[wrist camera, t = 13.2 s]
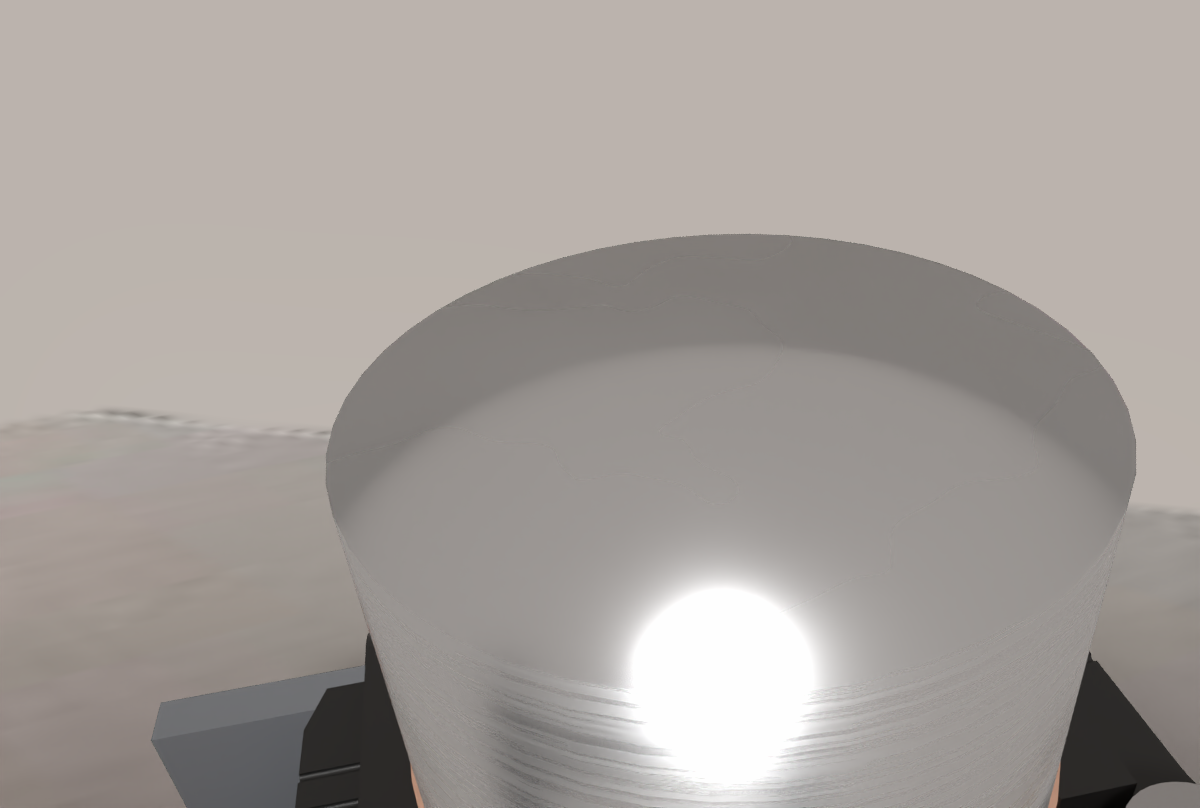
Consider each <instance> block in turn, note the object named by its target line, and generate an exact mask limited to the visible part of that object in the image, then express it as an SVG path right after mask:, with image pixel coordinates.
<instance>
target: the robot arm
mask: <svg viewBox="0 0 1200 808" xmlns="http://www.w3.org/2000/svg"><path fill="white" fill-rule="evenodd" d="M299 777H300V782H299V783H298V785H297V794H296V803H295V808H418V805H417V801H416V797H415V793H414V789H413V785H412V778H411V765H410V760H409V757H408V753H407V750H406V747H405V744H404V741H403V737H402V734H401V731H400V728H399V725H398V722H397V718H396V715H395V712H394V709H393V706H392V702H391V699H390V696H389V693H388V690H387V686H386V683H385V680H384V677H383V674H382V671H381V667H380V664H379V661H378V658H377V655H376V651H375V648H374V645H373V642H372V639H371V635H370V632H369V634H368V636H367V641H366V657H365V677H364V682H359V683H353V684H348V685H343V686H338V687H332V688H327V689H326V691H325V693H324V695H323V696H322V698H321V700H320V702H319V704H318V705H317V707H316V709H315V711H314V713H313V714H312V716H311V718H310V720H309V722H308V723H307V725H306V727H305V729H304V732H303V741H302V750H301V759H300V768H299ZM1056 808H1200V785H1199V784H1196V783H1195V782H1194V781H1193V780H1192V779H1191V778H1190V777H1189V776H1188V775H1187V774H1186V773H1185V772H1184V770H1183V769H1182V768H1181V767H1180V766H1179V764H1178V763H1177V762H1176V761H1175V759H1174V758H1173V757H1172V756H1171V754H1170V753H1169V752H1168V750H1167V749H1166V748H1165V747H1164V745H1163V744H1162V743H1161V742H1160V740H1159V739H1158V738H1157V737H1156V735H1155V734H1154V733H1153V731H1152V730H1151V729H1150V728H1149V726H1148V725H1147V724H1146V723H1145V721H1144V720H1143V719H1142V718H1141V716H1140V715H1139V714H1138V712H1137V711H1136V710H1135V709H1134V707H1133V706H1132V705H1131V704H1130V702H1129V701H1128V700H1127V698H1126V697H1125V696H1124V695H1123V693H1122V692H1121V691H1120V690H1119V688H1118V687H1117V686H1116V685H1115V683H1114V682H1113V681H1112V679H1111V678H1110V677H1109V676H1108V674H1107V673H1106V672H1105V671H1104V669H1103V668H1102V667H1101V666H1100V664H1099V663H1098V662H1097V661H1093V660H1092V658H1091V653H1090V652H1089V654H1088V658H1087V662H1086V665H1085V669H1084V673H1083V677H1082V681H1081V684H1080V688H1079V692H1078V696H1077V700H1076V703H1075V707H1074V711H1073V715H1072V718H1071V722H1070V726H1069V730H1068V734H1067V737H1066V741H1065V745H1064V749H1063V753H1062V756H1061V760H1060V777H1059V791H1058V802H1057V806H1056Z"/></svg>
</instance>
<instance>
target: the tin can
mask: <svg viewBox="0 0 1200 808" xmlns="http://www.w3.org/2000/svg"><path fill="white" fill-rule="evenodd" d="M1135 476H1136V439H1135V435H1134V431H1133V427H1132V424H1131V419H1130V415H1129V411H1128V408H1127V406H1126V405H1125V402H1124V400H1123V398H1122V396H1121V395H1120V392H1119V390H1118V388H1117V387H1116V385H1115V383H1114V381H1113V379H1112V378H1111V377H1110V375H1109V374H1108V373H1107V371H1106V370H1105V369H1104V367H1103V366H1102V365H1101V364H1100V362H1099V361H1098V360H1097V359H1096V357H1095V356H1094V355H1093V354H1092V352H1090V350H1088V349H1087V348H1086V347H1085V346H1084V345H1083V344H1082V343H1081V342H1080V341H1079V340H1078V339H1077V338H1076V337H1075V336H1074V335H1073V334H1072V333H1071V332H1069V331H1068V330H1067V329H1066V328H1064V327H1063V326H1062V325H1060V324H1059V323H1057V322H1056V321H1055V320H1053V319H1052V318H1051V317H1049V316H1048V315H1047V314H1045V313H1044V312H1042V311H1041V310H1040V309H1038V308H1036V307H1035V306H1033V305H1031V304H1029V303H1028V302H1026V301H1024V300H1022V299H1020V298H1019V297H1017V296H1015V295H1014V294H1012V293H1010V292H1008V291H1006V290H1004V289H1002V288H1000V287H998V286H996V285H993V284H991V283H989V282H987V281H984V280H982V279H980V278H978V277H976V276H973V275H971V274H968V273H965V272H962V271H960V270H957V269H954V268H951V267H949V266H945V265H943V264H940V263H937V262H934V261H930V260H926V259H923V258H919V257H916V256H912V255H909V254H905V253H901V252H897V251H892V250H887V249H883V248H877V247H873V246H869V245H864V244H857V243H851V242H844V241H837V240H830V239H822V238H811V237H800V236H789V235H763V234H762V235H761V234H723V235H700V236H686V237H673V238H666V239H657V240H649V241H641V242H634V243H628V244H623V245H617V246H612V247H606V248H601V249H596V250H592V251H588V252H584V253H580V254H576V255H572V256H567V257H563V258H560V259H557V260H554V261H550V262H547V263H544V264H541V265H537V266H534V267H531V268H528V269H525V270H523V271H520V272H517V273H515V274H512V275H509V276H507V277H504V278H501V279H499V280H496V281H494V282H492V283H490V284H488V285H486V286H484V287H481V288H479V289H477V290H475V291H472V292H470V293H468V294H466V295H464V296H462V297H461V298H459V299H457V300H455V301H453V302H452V303H450V304H448V305H446V306H444V307H443V308H441V309H439V310H437V311H435V312H434V313H433V314H431V315H430V316H428V317H427V318H425V319H424V320H422V321H421V322H419V323H418V324H416V325H415V326H414V327H412V328H411V329H409V330H408V331H407V332H405V333H404V334H403V335H402V336H401V337H400V338H398V340H396V341H395V342H394V343H392V344H391V345H390V346H389V347H388V348H387V349H385V350H384V351H383V353H381V355H380V356H379V357H378V358H377V359H376V360H375V361H374V362H373V363H372V364H371V365H370V366H369V367H368V369H367V370H366V371H365V372H364V373H363V374H362V375H361V377H360V378H359V380H358V381H357V383H356V384H355V386H354V387H353V389H352V390H351V391H350V393H349V394H348V396H347V397H346V399H345V401H344V403H343V405H342V407H341V409H340V412H339V414H338V416H337V418H336V420H335V423H334V425H333V428H332V432H331V436H330V440H329V445H328V449H327V453H326V487H327V492H328V496H329V501H330V505H331V510H332V514H333V518H334V521H335V524H336V527H337V530H338V533H339V537H340V540H341V543H342V546H343V549H344V553H345V556H346V559H347V562H348V565H349V569H350V572H351V575H352V578H353V581H354V584H355V588H356V591H357V594H358V597H359V600H360V604H361V607H362V610H363V613H364V616H365V620H366V623H367V626H368V629H369V632H370V635H371V639H372V642H373V645H374V648H375V651H376V655H377V658H378V661H379V664H380V667H381V671H382V674H383V677H384V680H385V683H386V686H387V690H388V693H389V696H390V699H391V702H392V706H393V709H394V712H395V715H396V718H397V722H398V725H399V728H400V731H401V734H402V737H403V741H404V744H405V747H406V750H407V753H408V757H409V760H410V765H411V778H412V785H413V789H414V793H415V797H416V801H417V805H418V808H1056V806H1057V802H1058V791H1059V777H1060V760H1061V756H1062V753H1063V749H1064V745H1065V741H1066V737H1067V734H1068V730H1069V726H1070V722H1071V718H1072V715H1073V711H1074V707H1075V703H1076V700H1077V696H1078V692H1079V688H1080V684H1081V681H1082V677H1083V673H1084V669H1085V665H1086V662H1087V658H1088V654H1089V650H1090V646H1091V643H1092V639H1093V635H1094V631H1095V627H1096V624H1097V620H1098V616H1099V612H1100V608H1101V605H1102V601H1103V597H1104V593H1105V589H1106V586H1107V582H1108V578H1109V574H1110V571H1111V567H1112V563H1113V559H1114V555H1115V552H1116V548H1117V544H1118V540H1119V536H1120V533H1121V529H1122V525H1123V521H1124V517H1125V514H1126V510H1127V506H1128V502H1129V498H1130V495H1131V491H1132V487H1133V483H1134V479H1135Z"/></svg>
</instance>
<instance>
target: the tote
mask: <svg viewBox="0 0 1200 808" xmlns="http://www.w3.org/2000/svg"><path fill="white" fill-rule="evenodd" d="M364 677H365V665H364V666H358V667H353V668H347V669H342V670H337V671H331V672H326V673H320V674H315V675H309V676H304V677H298V678H293V679H287V680H282V681H277V682H271V683H266V684H260V685H255V686H249V687H244V688H238V689H233V690H228V691H222V692H217V693H211V694H206V695H200V696H195V697H189V698H184V699H178V700H173V701H168V702H162V703H161V705H160V708H159V712H158V716H157V720H156V724H155V727H154V731H153V735H152V739H151V741H152V743H153V745H154V747H155V749H156V751H157V752H158V754H159V756H160V758H161V760H162V762H163V764H164V766H165V767H166V769H167V771H168V773H169V775H170V777H171V779H172V781H173V782H174V784H175V786H176V788H177V790H178V792H179V794H180V796H181V797H182V799H183V801H184V803H185V805H186V807H187V808H295V803H296V794H297V785H298V783H299V782H300V777H299V768H300V759H301V750H302V741H303V732H304V729H305V727H306V725H307V723H308V722H309V720H310V718H311V716H312V714H313V713H314V711H315V709H316V707H317V705H318V704H319V702H320V700H321V698H322V696H323V695H324V693H325V691H326V689H327V688H332V687H338V686H343V685H348V684H353V683H359V682H364Z"/></svg>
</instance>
